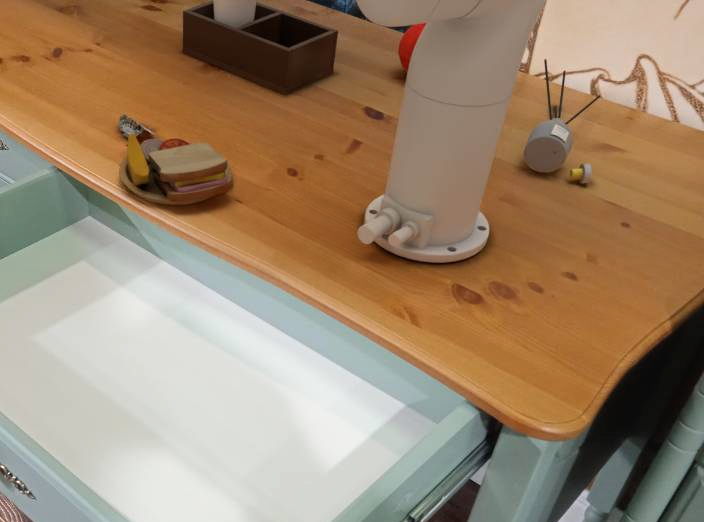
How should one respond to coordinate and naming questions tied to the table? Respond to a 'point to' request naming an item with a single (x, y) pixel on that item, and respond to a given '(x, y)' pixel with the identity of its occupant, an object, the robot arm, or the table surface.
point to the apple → (409, 44)
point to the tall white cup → (234, 11)
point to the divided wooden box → (262, 46)
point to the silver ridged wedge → (130, 126)
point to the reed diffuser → (554, 142)
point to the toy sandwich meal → (174, 171)
